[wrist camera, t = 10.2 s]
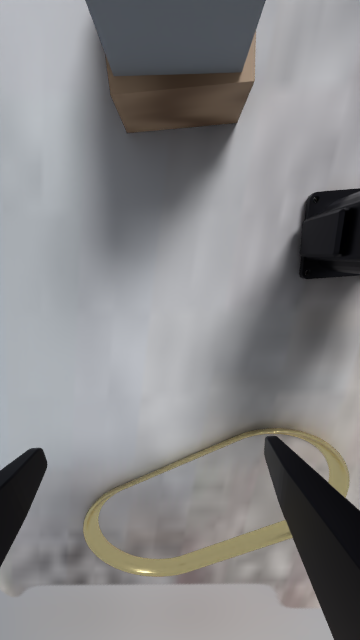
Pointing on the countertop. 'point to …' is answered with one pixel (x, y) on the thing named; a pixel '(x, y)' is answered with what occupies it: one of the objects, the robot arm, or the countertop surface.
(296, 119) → the countertop surface
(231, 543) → the yellow oval loop
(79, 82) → the countertop surface
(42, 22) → the countertop surface
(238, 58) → the tower top
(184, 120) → the tower base
